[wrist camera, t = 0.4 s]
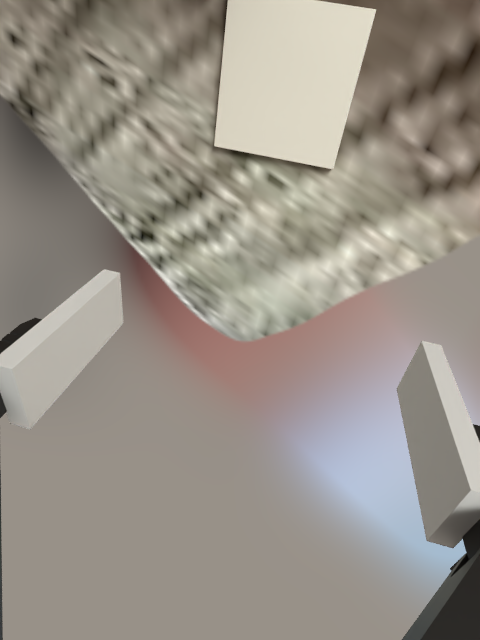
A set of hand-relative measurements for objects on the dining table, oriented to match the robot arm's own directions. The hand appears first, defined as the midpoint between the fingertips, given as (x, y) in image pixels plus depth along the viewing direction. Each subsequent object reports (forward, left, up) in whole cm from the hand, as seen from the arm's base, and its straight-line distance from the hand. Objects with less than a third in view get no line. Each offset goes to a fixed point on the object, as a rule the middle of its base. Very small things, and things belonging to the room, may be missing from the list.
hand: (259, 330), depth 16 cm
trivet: (-9, -4, -27) cm, 28 cm away
